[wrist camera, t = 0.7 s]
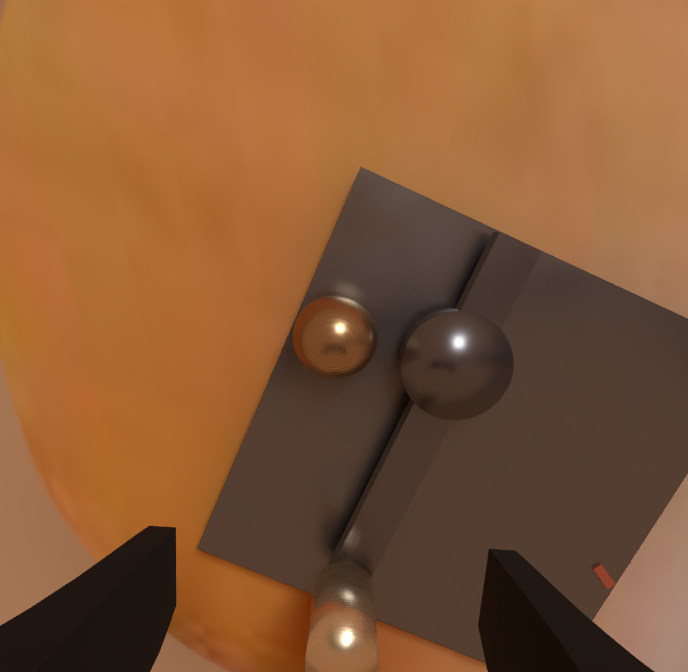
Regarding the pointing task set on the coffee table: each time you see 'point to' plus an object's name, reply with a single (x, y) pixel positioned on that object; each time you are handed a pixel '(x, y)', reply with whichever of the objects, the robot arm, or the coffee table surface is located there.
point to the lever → (417, 445)
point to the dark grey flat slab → (459, 425)
